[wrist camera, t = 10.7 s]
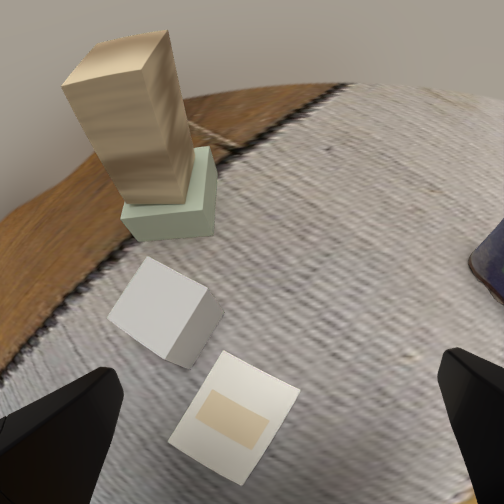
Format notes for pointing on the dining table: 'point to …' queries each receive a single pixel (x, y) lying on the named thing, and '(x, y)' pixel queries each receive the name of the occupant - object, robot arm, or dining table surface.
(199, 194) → the sage base block
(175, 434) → the card
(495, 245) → the flask
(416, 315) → the dining table surface
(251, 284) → the dining table surface
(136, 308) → the grey cube
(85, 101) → the maple pillar
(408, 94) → the dining table surface
